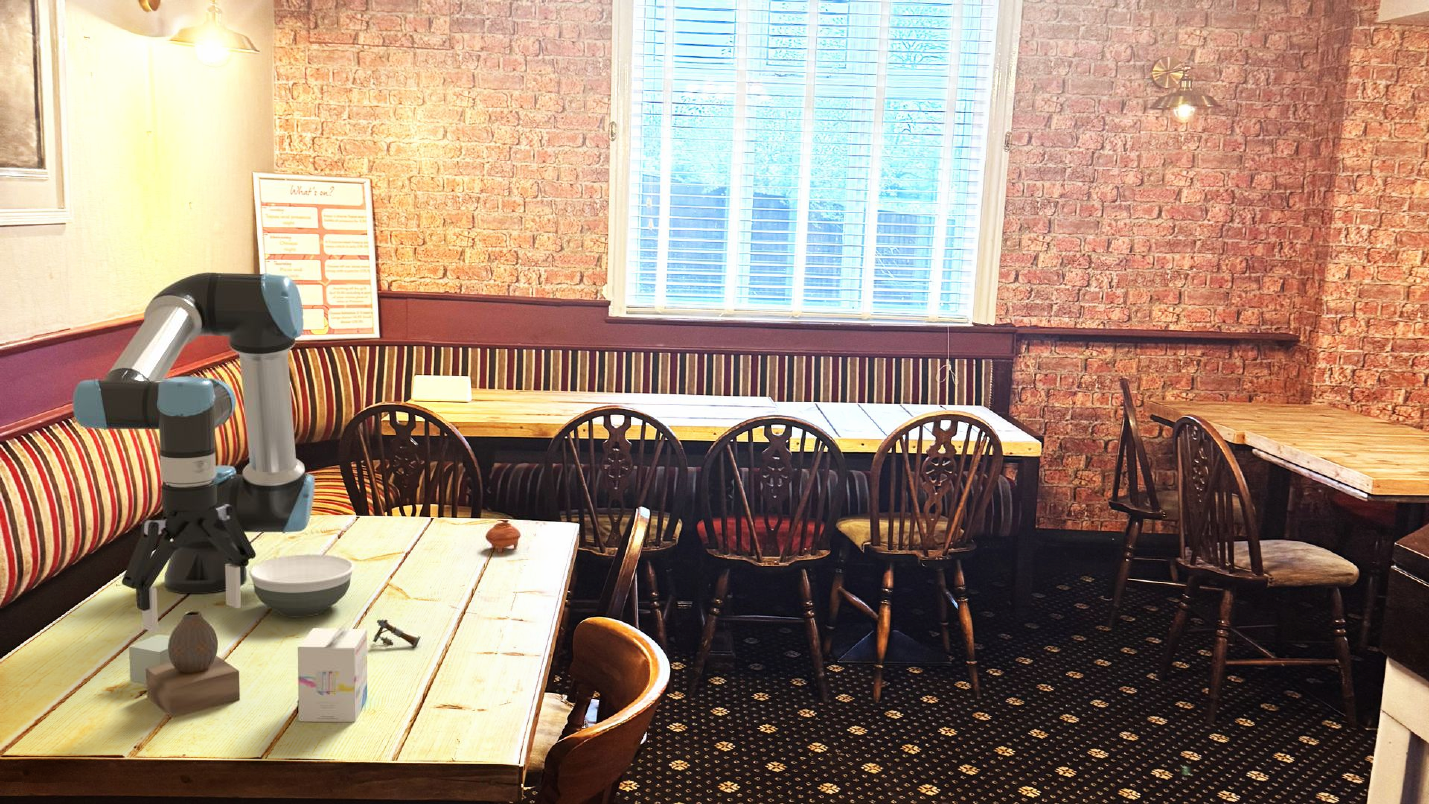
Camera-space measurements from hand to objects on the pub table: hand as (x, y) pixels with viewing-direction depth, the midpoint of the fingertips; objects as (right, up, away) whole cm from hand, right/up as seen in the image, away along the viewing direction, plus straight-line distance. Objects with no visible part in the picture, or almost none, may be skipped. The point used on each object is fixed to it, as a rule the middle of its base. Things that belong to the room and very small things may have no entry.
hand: (193, 617), depth 174 cm
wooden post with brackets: (+23, -10, +27) cm, 37 cm away
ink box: (+22, -14, -1) cm, 26 cm away
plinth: (-1, -13, +1) cm, 13 cm away
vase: (0, -8, +1) cm, 8 cm away
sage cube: (-9, -11, +8) cm, 17 cm away
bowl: (+1, -7, +43) cm, 44 cm away
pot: (+31, -1, +89) cm, 94 cm away
